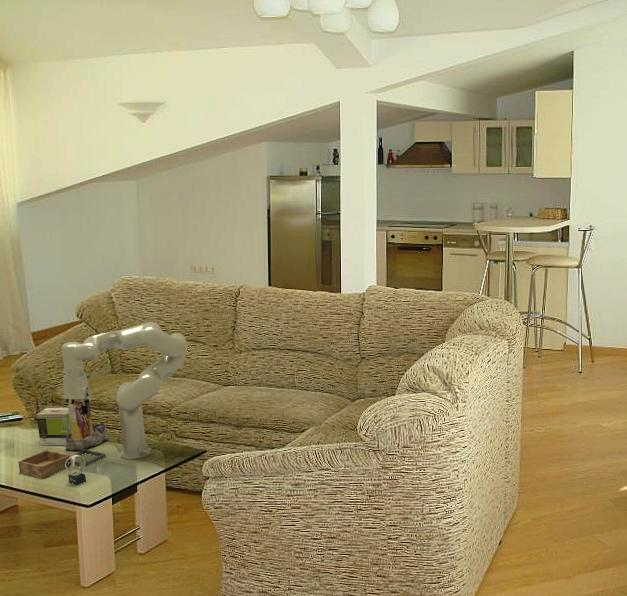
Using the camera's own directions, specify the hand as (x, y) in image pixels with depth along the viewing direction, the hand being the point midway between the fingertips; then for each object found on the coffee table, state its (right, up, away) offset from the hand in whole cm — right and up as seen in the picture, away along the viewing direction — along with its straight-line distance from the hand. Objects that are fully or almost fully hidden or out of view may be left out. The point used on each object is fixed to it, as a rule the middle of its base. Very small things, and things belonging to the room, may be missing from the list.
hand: (79, 413), depth 393 cm
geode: (-2, -17, +22) cm, 28 cm away
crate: (-13, -23, -5) cm, 27 cm away
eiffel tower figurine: (-35, -11, +64) cm, 74 cm away
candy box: (+1, -10, +2) cm, 11 cm away
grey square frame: (+1, -20, +4) cm, 21 cm away
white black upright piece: (+4, -25, -20) cm, 32 cm away
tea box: (-16, -17, +29) cm, 37 cm away
